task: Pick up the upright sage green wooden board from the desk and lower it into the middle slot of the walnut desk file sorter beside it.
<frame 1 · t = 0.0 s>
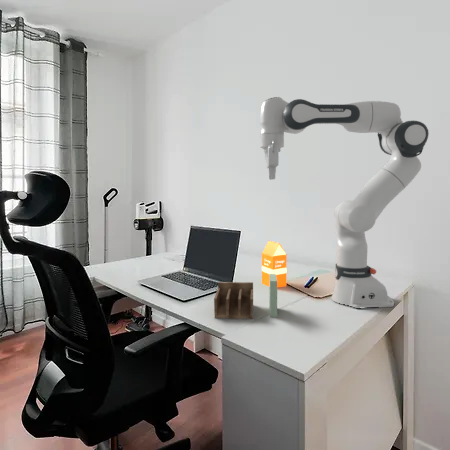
hand: (272, 179, 127), 48 cm above the table, tool pointing down, fingers open, 8 cm apart
file sorter: (234, 311, 121), on the table
orange juice: (274, 285, 152), on the table
board: (273, 312, 120), on the table
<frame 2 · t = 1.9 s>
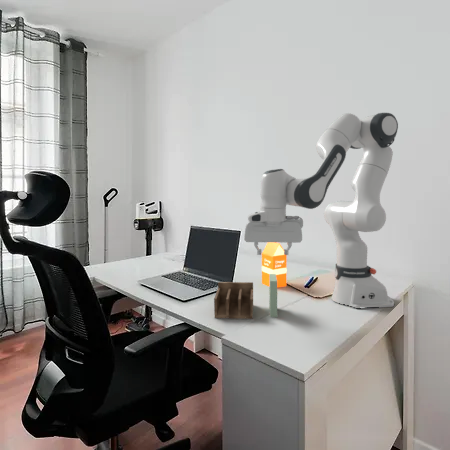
hand: (272, 254, 117), 21 cm above the table, tool pointing down, fingers open, 8 cm apart
nothing on the table moved.
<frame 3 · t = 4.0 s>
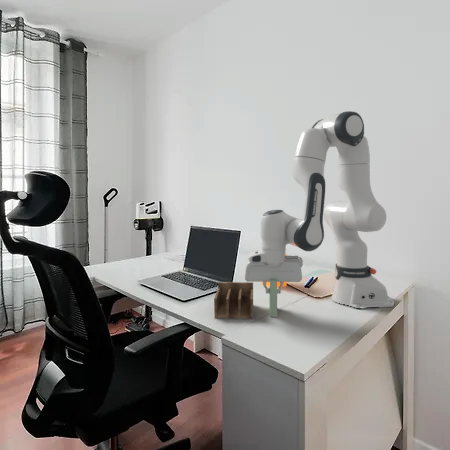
hand: (273, 293, 119), 7 cm above the table, tool pointing down, fingers closed on board, 2 cm apart
board: (273, 311, 120), on the table, touching gripper
everything else where it was.
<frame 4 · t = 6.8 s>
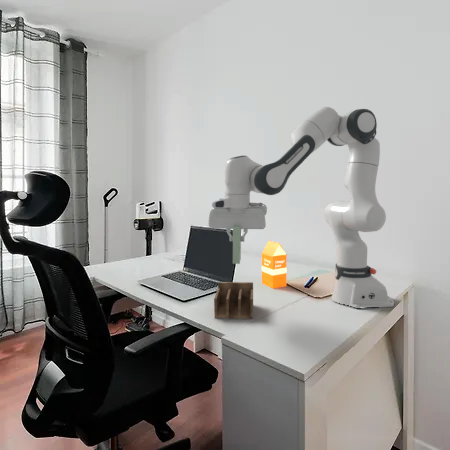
hand: (236, 241, 118), 26 cm above the table, tool pointing down, fingers closed on board, 2 cm apart
board: (236, 260, 119), point 19 cm above the table, touching gripper
everything else where it was.
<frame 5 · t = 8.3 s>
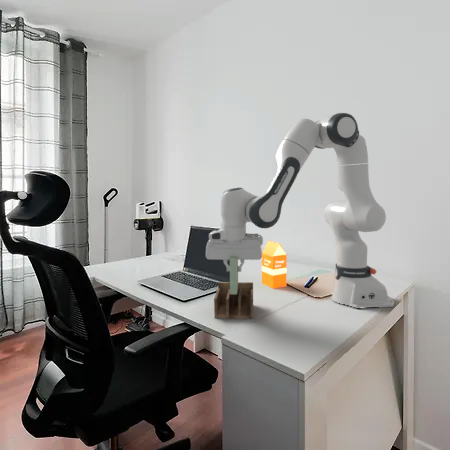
hand: (234, 271, 119), 15 cm above the table, tool pointing down, fingers closed on board, 2 cm apart
board: (234, 290, 120), point 8 cm above the table, touching gripper
everything else where it was.
when the fingers open (10 cm above the table, at t = 9.6 s): board drops 1 cm, resting on file sorter.
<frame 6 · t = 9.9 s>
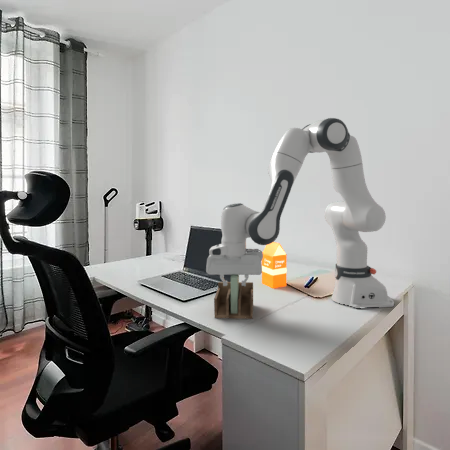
hand: (234, 286, 120), 10 cm above the table, tool pointing down, fingers open, 5 cm apart
board: (234, 308, 121), point 1 cm above the table, touching file sorter
everything else where it was.
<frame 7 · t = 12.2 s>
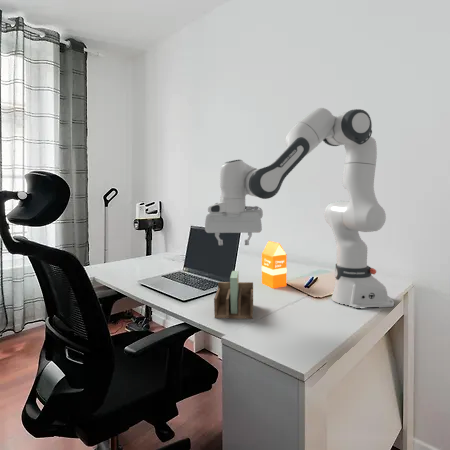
hand: (233, 245, 118), 25 cm above the table, tool pointing down, fingers open, 8 cm apart
nothing on the table moved.
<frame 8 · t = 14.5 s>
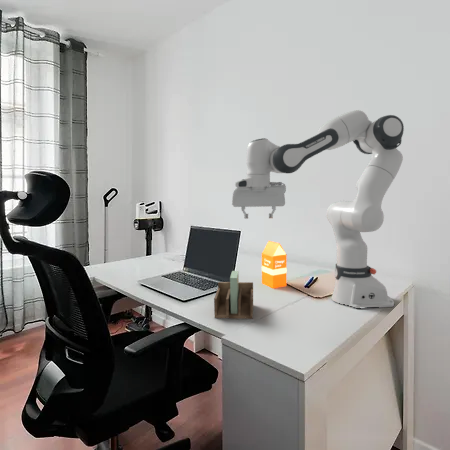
hand: (258, 218, 128), 33 cm above the table, tool pointing down, fingers open, 8 cm apart
nothing on the table moved.
at the end: board 0.1 cm off-centre on the file sorter, point 1.0 cm above the file sorter's base; board tilted 0°; the gripper is holding nothing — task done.
